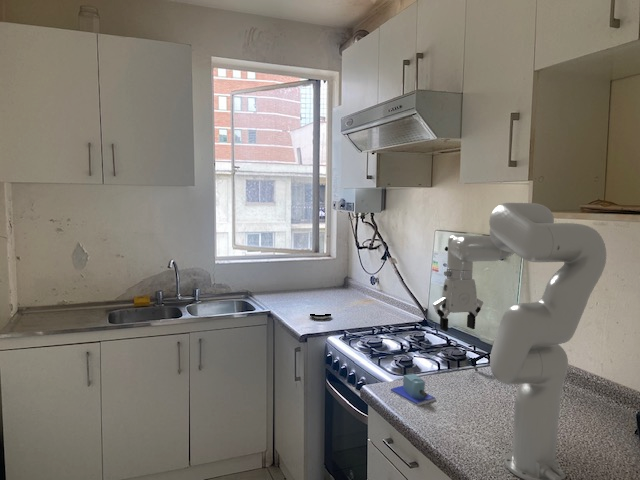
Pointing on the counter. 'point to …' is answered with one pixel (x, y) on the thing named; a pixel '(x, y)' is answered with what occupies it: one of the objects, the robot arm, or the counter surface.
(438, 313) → the robot arm
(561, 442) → the counter surface
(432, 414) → the counter surface
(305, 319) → the counter surface
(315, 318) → the spoon rest
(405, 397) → the hard drive
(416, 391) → the plug
